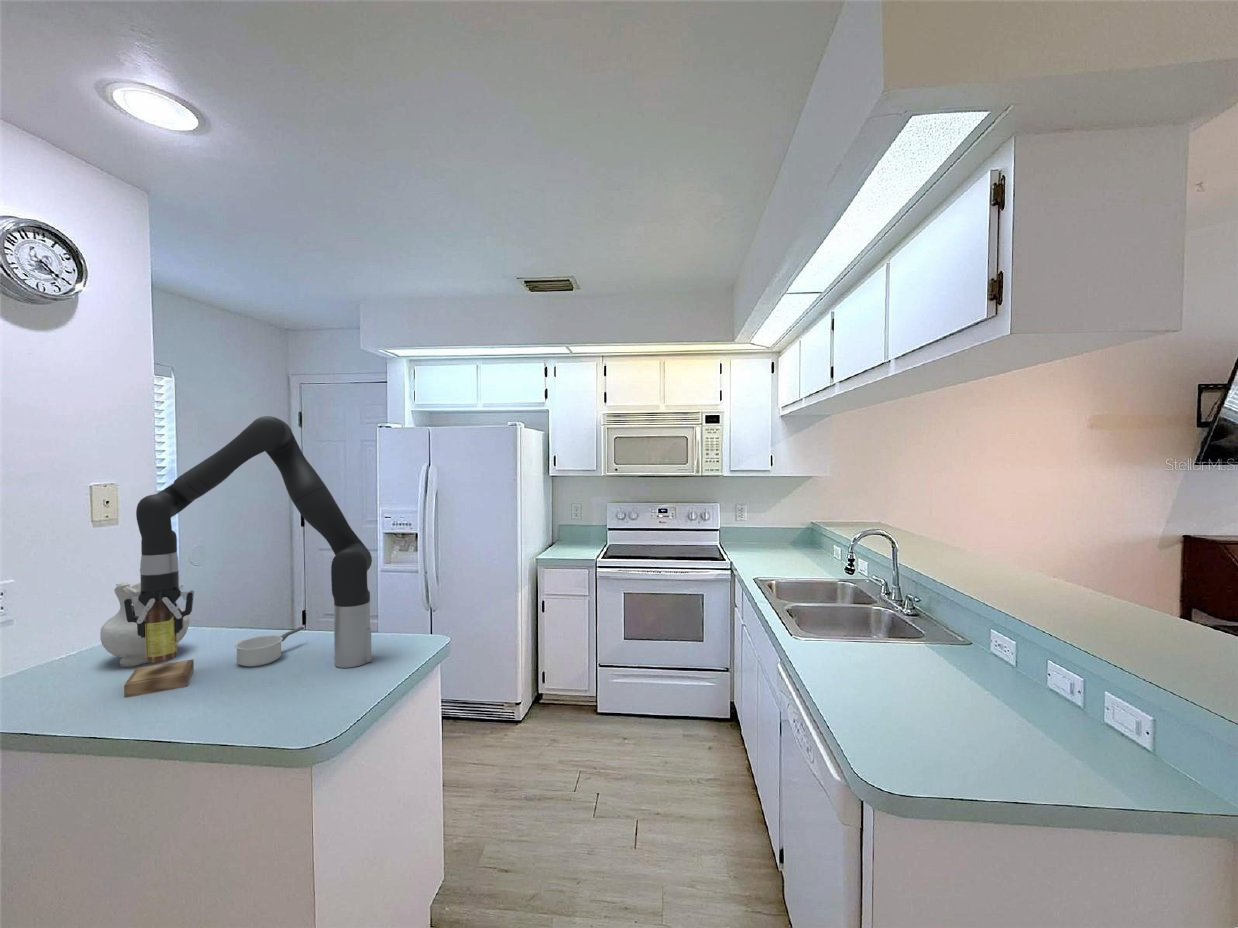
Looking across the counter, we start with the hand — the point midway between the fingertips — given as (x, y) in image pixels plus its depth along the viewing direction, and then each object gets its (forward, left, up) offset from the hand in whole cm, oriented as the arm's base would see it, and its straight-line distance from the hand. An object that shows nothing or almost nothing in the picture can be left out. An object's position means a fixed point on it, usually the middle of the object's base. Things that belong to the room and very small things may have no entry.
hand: (160, 634), depth 140 cm
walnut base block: (0, 0, -13) cm, 13 cm away
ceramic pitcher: (+7, -25, -13) cm, 29 cm away
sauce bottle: (0, 0, -7) cm, 7 cm away
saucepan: (-24, -7, -13) cm, 29 cm away
